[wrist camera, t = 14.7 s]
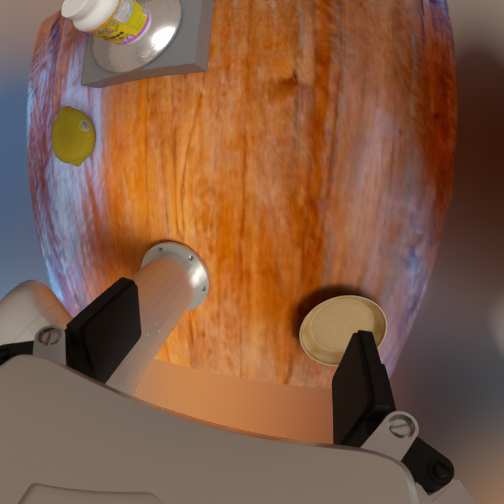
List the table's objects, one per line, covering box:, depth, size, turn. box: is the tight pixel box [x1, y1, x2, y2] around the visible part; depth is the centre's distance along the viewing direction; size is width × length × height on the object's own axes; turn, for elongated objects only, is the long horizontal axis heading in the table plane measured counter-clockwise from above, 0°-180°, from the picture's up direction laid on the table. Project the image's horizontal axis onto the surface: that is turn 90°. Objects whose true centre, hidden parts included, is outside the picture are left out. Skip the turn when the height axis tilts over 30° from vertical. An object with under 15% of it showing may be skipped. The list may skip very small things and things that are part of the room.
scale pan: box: [93, 0, 183, 73], centre depth 27 cm, size 15×15×1 cm
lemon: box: [52, 106, 96, 166], centre depth 36 cm, size 11×8×8 cm
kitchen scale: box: [81, 0, 215, 88], centre depth 29 cm, size 20×20×6 cm
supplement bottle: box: [61, 0, 151, 45], centre depth 21 cm, size 7×7×13 cm
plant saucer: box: [299, 295, 387, 366], centre depth 44 cm, size 15×15×3 cm
